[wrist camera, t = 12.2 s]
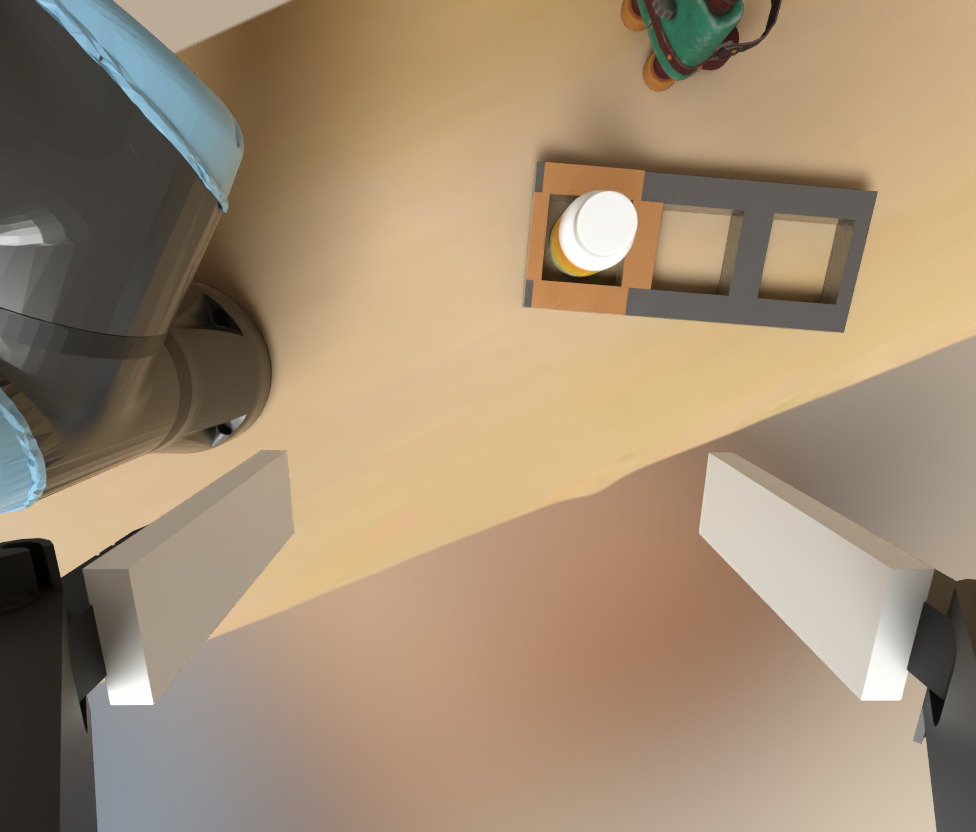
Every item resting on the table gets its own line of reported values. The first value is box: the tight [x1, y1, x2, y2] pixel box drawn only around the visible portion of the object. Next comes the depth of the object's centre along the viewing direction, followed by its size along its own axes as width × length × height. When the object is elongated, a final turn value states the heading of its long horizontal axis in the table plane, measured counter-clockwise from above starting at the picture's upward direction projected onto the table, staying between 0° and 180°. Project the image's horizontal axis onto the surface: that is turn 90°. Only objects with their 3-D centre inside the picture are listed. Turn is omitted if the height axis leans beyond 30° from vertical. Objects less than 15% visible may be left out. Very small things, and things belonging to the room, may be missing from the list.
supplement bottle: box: [548, 190, 638, 277], centre depth 35 cm, size 5×5×10 cm
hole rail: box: [522, 162, 878, 333], centre depth 39 cm, size 27×11×2 cm, turn 86°
